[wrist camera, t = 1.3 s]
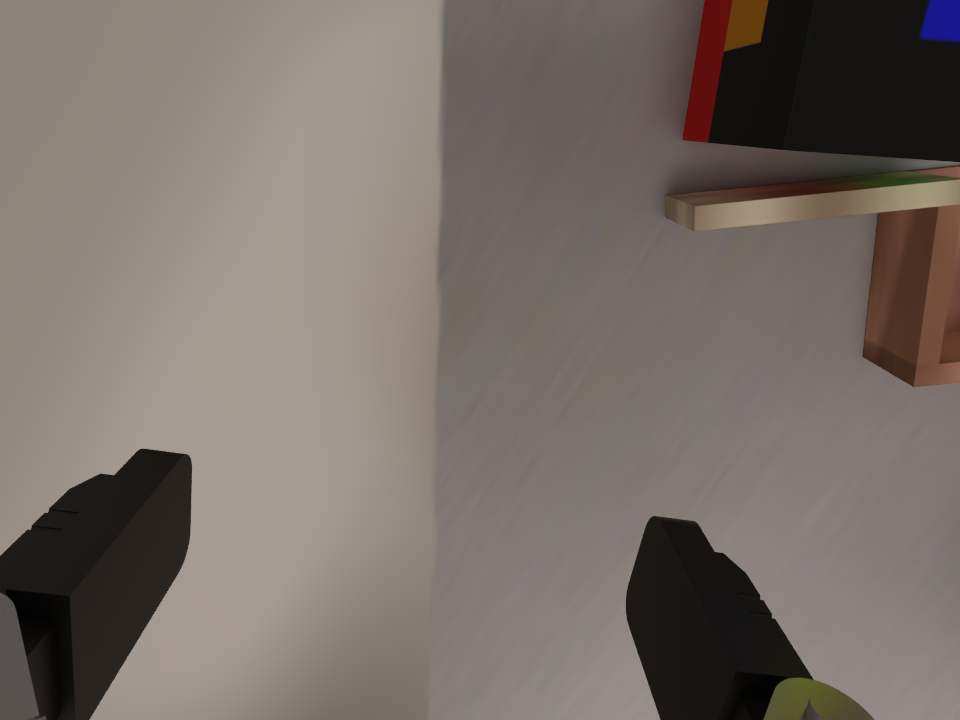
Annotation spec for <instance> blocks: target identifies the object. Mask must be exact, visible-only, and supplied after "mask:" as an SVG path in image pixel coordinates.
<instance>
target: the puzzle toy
mask: <svg viewBox="0 0 960 720" xmlns="http://www.w3.org/2000/svg"><path fill="white" fill-rule="evenodd" d="M683 140H687V141H698V142H708V143H718V144H728V145H738V146H749V147H759V148H769V149H779V150H792V151H806V152H821V153H836V154H850V155H865V156H879V157H894V158H908V159H923V160H937V161H952V162H960V0H705V3H704V9H703V16H702V22H701V28H700V34H699V40H698V47H697V53H696V59H695V65H694V72H693V78H692V84H691V90H690V97H689V103H688V109H687V115H686V121H685V128H684V134H683Z"/></svg>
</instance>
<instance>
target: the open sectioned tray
mask: <svg viewBox="0 0 960 720" xmlns="http://www.w3.org/2000/svg"><path fill="white" fill-rule="evenodd" d="M869 213H879V214H878V223H877V232H876V241H875V250H874V260H873V269H872V278H871V287H870V296H869V306H868V315H867V324H866V333H865V342H864V352H863V357H864V358H866V359H867V360H869V361H871V362H872V363H874V364H876V365H877V366H879V367H881V368H883V369H884V370H886V371H888V372H889V373H891V374H893V375H894V376H896V377H898V378H899V379H901V380H903V381H904V382H906V383H908V384H910V385H911V386H913V387H918V386H928V385H938V384H948V383H958V382H960V166H952V167H942V168H933V169H923V170H913V171H903V172H893V173H884V174H874V175H864V176H854V177H844V178H834V179H825V180H815V181H805V182H795V183H785V184H775V185H766V186H756V187H746V188H736V189H726V190H717V191H707V192H697V193H687V194H677V195H667V196H666V218H668V219H670V220H672V221H674V222H676V223H678V224H680V225H682V226H685V227H687V228H689V229H691V230H693V231H702V230H712V229H721V228H731V227H741V226H751V225H761V224H771V223H781V222H790V221H800V220H810V219H820V218H830V217H840V216H850V215H859V214H869Z"/></svg>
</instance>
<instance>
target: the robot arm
mask: <svg viewBox="0 0 960 720" xmlns="http://www.w3.org/2000/svg"><path fill="white" fill-rule="evenodd" d="M191 484H192V463H191V458H190V457H189V455H187V454H180V453H172V452H165V451H157V450H149V449H140V450H138V451H137V452H136V453H135V454H134V455H133V456H132V457H131V459H129V460H128V462H127V463H126V464H125V465H124V466H123V467H122V468H121V469H120V470H119V471H118V472H117V473H116V474H115V475H106V474H99V475H97V476H95V477H93V478H91V479H89V480H87V481H85V482H83V483H81V484H79V485H77V486H75V487H73V488H71V489H69V490H68V491H67V492H66V493H65V494H64V495H63V496H62V497H61V498H60V499H59V500H58V501H57V502H56V503H55V504H54V505H53V506H51V507H50V508H49V512H48V513H44V514H43V515H42V516H41V517H40V518H39V519H38V520H37V521H36V522H35V523H34V524H33V525H32V528H31V530H27V531H26V532H25V533H24V534H22V535H21V537H19V538H18V539H17V540H16V541H15V542H14V543H13V544H12V545H11V546H10V547H9V548H8V549H7V550H6V551H5V552H4V553H3V554H2V555H1V556H0V720H89V719H90V717H91V716H92V714H93V713H94V711H95V709H96V708H97V706H98V705H99V703H100V701H101V700H102V698H103V696H104V694H105V693H106V691H107V690H108V688H109V686H110V684H111V683H112V681H113V680H114V678H115V677H116V675H117V673H118V671H119V670H120V668H121V667H122V665H123V663H124V662H125V660H126V658H127V656H128V655H129V653H130V652H131V650H132V649H133V647H134V645H135V644H136V642H137V640H138V639H139V637H140V635H141V633H142V632H143V630H144V629H145V627H146V625H147V624H148V622H149V621H150V619H151V617H152V616H153V614H154V612H155V611H156V609H157V607H158V606H159V604H160V602H161V601H162V599H163V598H164V596H165V594H166V593H167V591H168V589H169V587H170V586H171V584H172V583H173V581H174V579H175V578H176V576H177V575H178V573H179V571H180V569H181V567H182V565H183V562H184V560H185V557H186V553H187V549H188V545H189V539H190V525H191ZM626 615H627V621H628V625H629V628H630V631H631V634H632V637H633V640H634V643H635V646H636V648H637V651H638V654H639V657H640V660H641V663H642V666H643V669H644V672H645V675H646V678H647V681H648V684H649V687H650V690H651V693H652V696H653V699H654V702H655V705H656V707H657V710H658V713H659V716H660V719H661V720H874V719H873V718H872V716H871V715H870V714H869V713H868V712H867V711H866V710H865V709H864V708H863V707H861V706H860V705H859V704H858V703H857V702H855V701H854V700H853V699H851V698H850V697H848V696H847V695H846V694H844V693H842V692H840V691H839V690H837V689H835V688H833V687H831V686H829V685H827V684H824V683H821V682H819V681H815V680H813V678H812V676H811V675H810V673H809V672H808V670H807V669H806V667H805V665H804V664H803V662H802V661H801V659H800V658H799V656H798V654H797V653H796V651H795V650H794V648H793V646H792V645H791V643H790V642H789V640H788V639H787V637H786V635H785V634H784V632H783V631H782V629H781V628H780V626H779V624H778V623H777V621H776V620H775V619H772V613H771V612H770V610H769V609H768V607H767V605H766V604H765V602H764V601H763V600H760V594H759V593H758V591H757V590H756V588H755V587H754V585H753V583H752V582H751V580H750V579H749V577H748V576H747V574H746V573H745V572H744V571H743V570H742V569H740V568H739V567H738V566H737V565H736V564H735V563H734V562H733V561H731V560H730V559H729V558H728V557H727V556H726V555H725V554H723V553H718V552H714V550H713V548H712V547H711V545H710V543H709V542H708V540H707V538H706V537H705V535H704V533H703V532H702V530H701V528H700V526H699V525H698V524H697V523H696V522H694V521H689V520H681V519H674V518H666V517H658V516H653V517H651V518H650V519H649V521H648V523H647V525H646V528H645V531H644V534H643V537H642V541H641V544H640V548H639V551H638V554H637V558H636V561H635V564H634V568H633V571H632V574H631V578H630V581H629V585H628V589H627V595H626Z"/></svg>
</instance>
